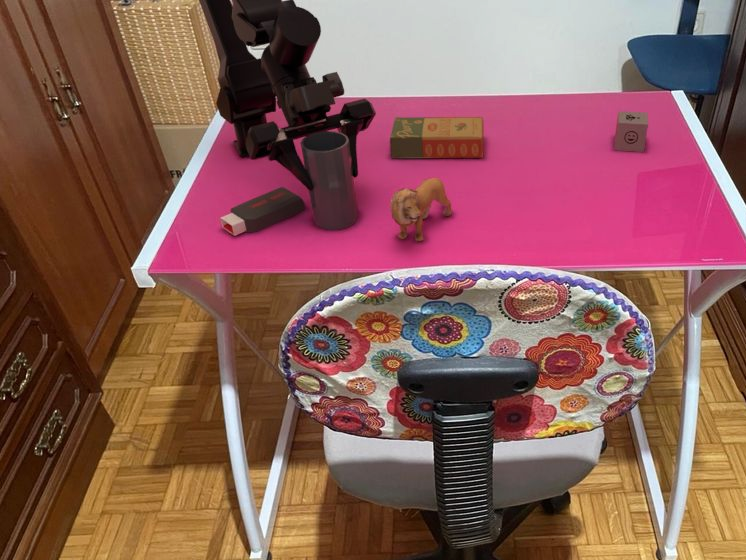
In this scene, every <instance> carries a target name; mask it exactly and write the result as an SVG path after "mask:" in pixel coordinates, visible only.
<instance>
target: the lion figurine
mask: <svg viewBox="0 0 746 560" xmlns="http://www.w3.org/2000/svg"><path fill="white" fill-rule="evenodd" d="M433 201H436V202H437V203H439V204H440V205H441V206H444V207H445V210H444V211H443V215H444V216H446V217H450V216H452V202H451V199H449V198H448V196H447V194H446V188H445V184H444V183H443V181H442V180H441V179H440V178H438V177H433V178H426V179H424V180H423V181H422V182H421V183H420V185H419V186H418V187H416V188H415V189H414V190H413V189H412V188H410V187H408V188H406V187H403V188H400V189H398V190H397V191H395V192H394V193H393V194H392V197H391V199H390V213H391V217H392V219H393V220H394V222H395V223H396V224H397V225H398V226H399V229H400V232H399V233H398V235H397V237H398V239H400V240H405V239H406V238H407V235H408V228H410V227H412V226H414V225H415V230H414V236H415V237H414V241H416V242H423V241H424V233H423V222H424V221H423V220H424V219H427V218H428V216H429V213H430V211H431V208H432V202H433Z"/></svg>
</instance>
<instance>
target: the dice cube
mask: <svg viewBox="0 0 746 560" xmlns="http://www.w3.org/2000/svg"><path fill="white" fill-rule="evenodd" d="M648 116H649V115H648V112H641V111H640V112H639V111H625V110H624V111H623V110H618V111H617V118H616V127H615V132H614V133H615V134H614V151H620V152H623V151H624V152H638V153H644V152H645V146H646V139H647V135H648V129H649V128H648V127H649V117H648Z"/></svg>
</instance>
